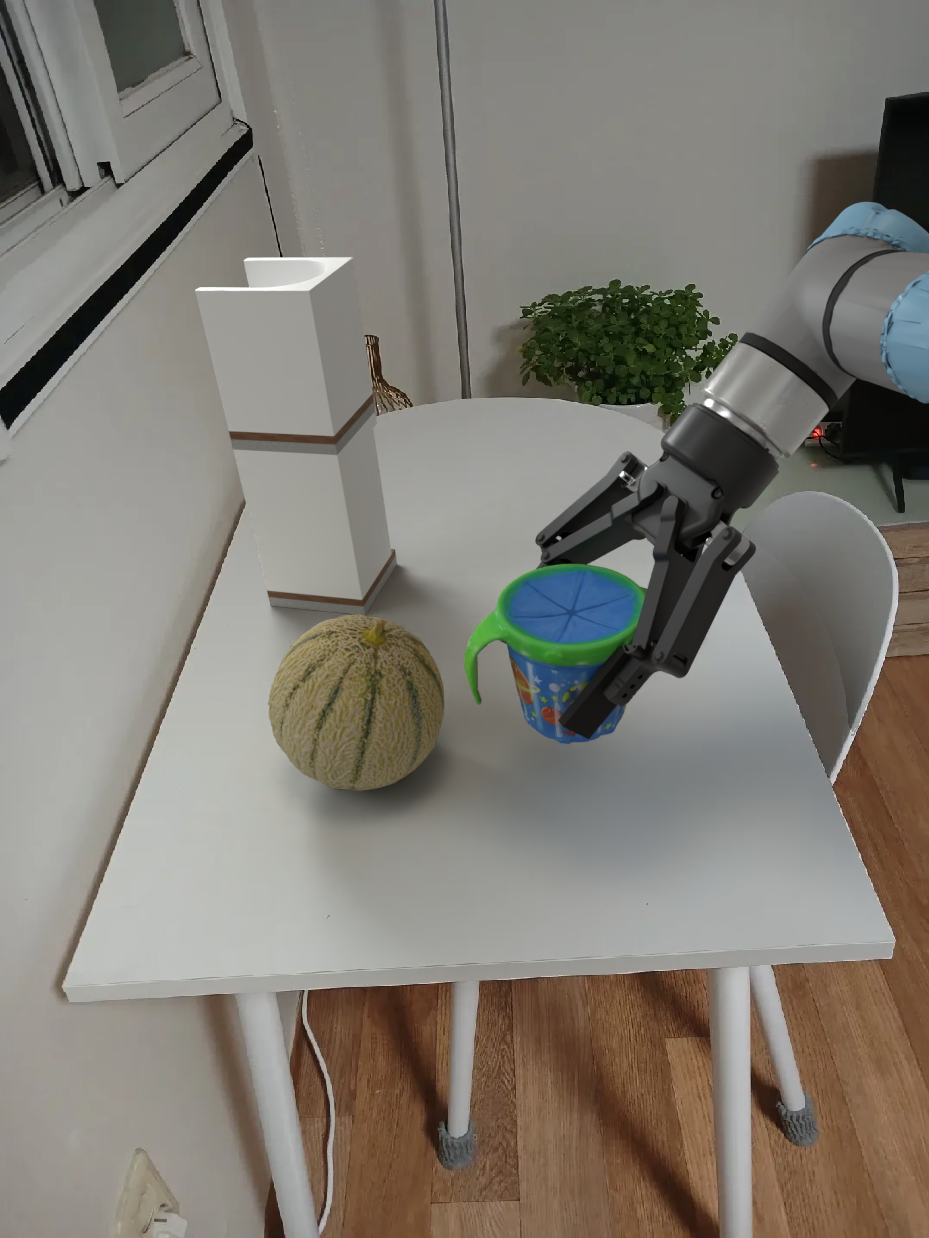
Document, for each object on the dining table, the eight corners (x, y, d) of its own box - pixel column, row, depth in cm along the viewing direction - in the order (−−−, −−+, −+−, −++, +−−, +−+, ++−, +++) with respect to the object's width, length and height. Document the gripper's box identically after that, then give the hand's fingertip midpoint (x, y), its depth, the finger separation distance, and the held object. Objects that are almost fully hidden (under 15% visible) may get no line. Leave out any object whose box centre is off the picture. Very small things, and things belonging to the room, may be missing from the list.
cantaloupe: (261, 753, 87) (225, 619, 78) (401, 690, 93) (381, 559, 84) (331, 855, 76) (297, 713, 68) (484, 777, 82) (471, 637, 74)
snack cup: (657, 658, 76) (662, 549, 70) (697, 747, 67) (706, 631, 62) (463, 683, 75) (451, 575, 70) (479, 777, 67) (466, 663, 61)
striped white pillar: (397, 564, 112) (353, 257, 92) (364, 615, 104) (309, 290, 84) (308, 556, 115) (247, 258, 95) (270, 605, 107) (194, 290, 87)
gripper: (889, 531, 57) (653, 802, 62) (676, 402, 75) (506, 620, 79) (828, 472, 52) (579, 769, 57) (617, 350, 70) (441, 585, 75)
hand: (536, 683), depth 68 cm, fingers closed on snack cup, 10 cm apart
